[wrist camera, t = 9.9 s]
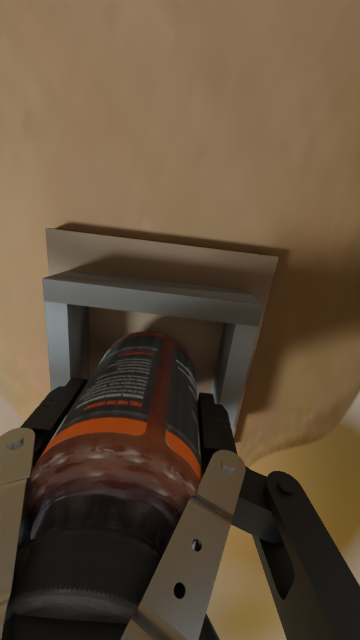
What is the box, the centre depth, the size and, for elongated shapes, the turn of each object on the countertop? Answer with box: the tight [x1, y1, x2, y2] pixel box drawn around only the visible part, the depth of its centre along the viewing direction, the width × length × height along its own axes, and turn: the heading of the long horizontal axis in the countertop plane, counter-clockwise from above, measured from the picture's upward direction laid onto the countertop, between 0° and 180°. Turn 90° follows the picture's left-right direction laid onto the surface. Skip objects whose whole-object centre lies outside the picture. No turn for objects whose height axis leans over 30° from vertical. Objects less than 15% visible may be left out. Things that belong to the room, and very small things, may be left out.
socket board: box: [42, 228, 279, 438], centre depth 16 cm, size 16×14×4 cm
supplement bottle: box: [13, 331, 202, 624], centre depth 11 cm, size 6×6×11 cm
